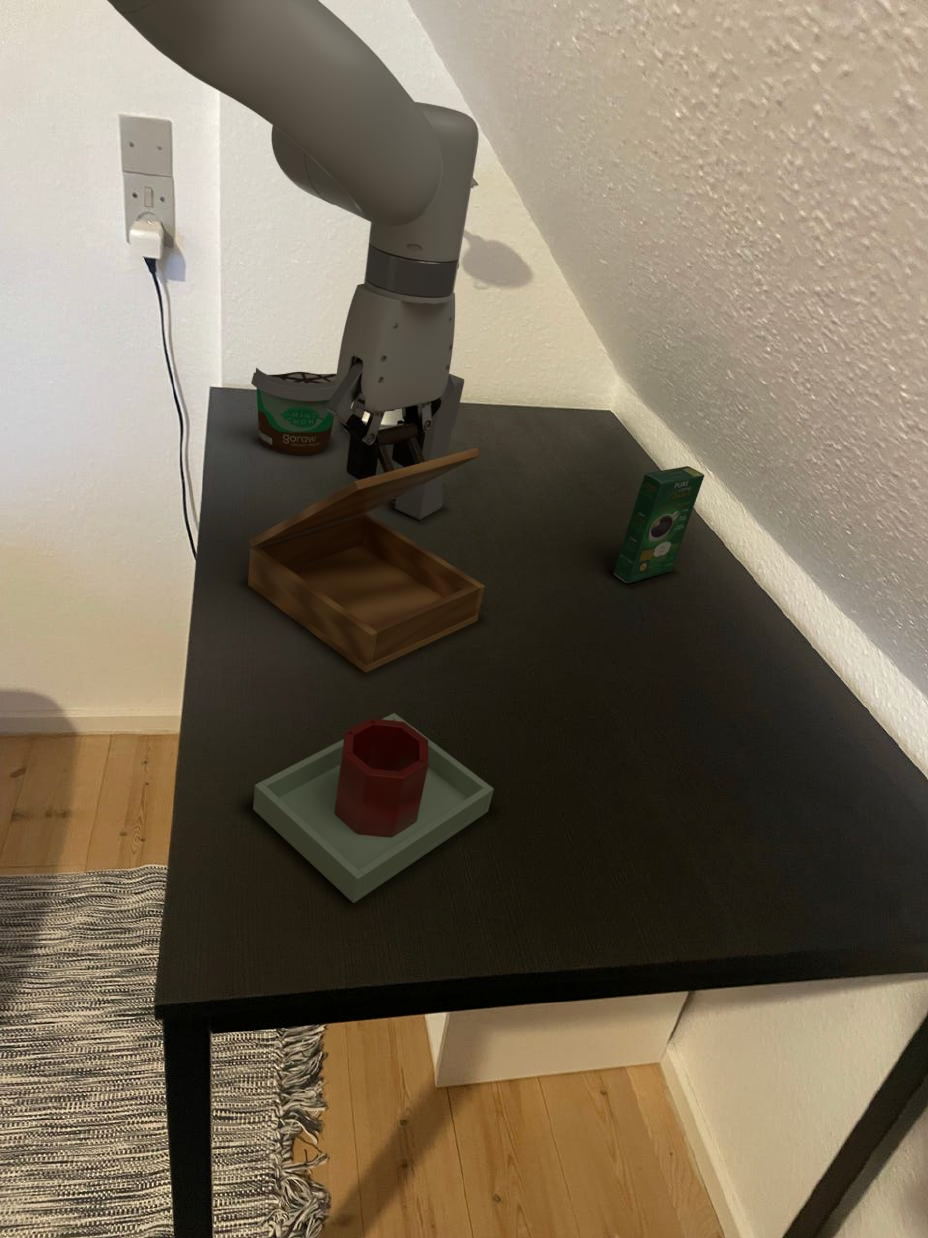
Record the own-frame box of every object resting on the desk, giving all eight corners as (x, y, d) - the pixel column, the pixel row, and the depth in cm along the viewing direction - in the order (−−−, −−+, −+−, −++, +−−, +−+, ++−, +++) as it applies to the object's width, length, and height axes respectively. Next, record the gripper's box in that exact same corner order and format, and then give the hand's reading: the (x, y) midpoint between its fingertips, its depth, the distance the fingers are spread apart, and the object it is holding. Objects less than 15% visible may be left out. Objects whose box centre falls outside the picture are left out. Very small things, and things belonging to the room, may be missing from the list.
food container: (263, 461, 119) (267, 385, 114) (248, 441, 123) (251, 367, 118) (353, 457, 125) (361, 384, 120) (335, 437, 129) (343, 366, 124)
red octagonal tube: (374, 849, 68) (384, 789, 65) (318, 800, 71) (325, 740, 68) (433, 811, 72) (445, 753, 69) (378, 767, 76) (387, 708, 72)
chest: (477, 621, 97) (485, 585, 95) (365, 673, 86) (371, 634, 84) (362, 546, 106) (366, 512, 103) (247, 585, 95) (249, 548, 93)
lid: (480, 455, 90) (461, 405, 89) (358, 489, 79) (336, 433, 79) (368, 511, 103) (351, 468, 103) (251, 547, 93) (232, 500, 92)
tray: (353, 904, 64) (357, 879, 63) (252, 809, 70) (254, 784, 69) (488, 811, 74) (494, 788, 73) (390, 735, 80) (394, 712, 78)
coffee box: (656, 560, 115) (688, 462, 108) (673, 572, 114) (707, 473, 107) (610, 573, 111) (641, 471, 104) (628, 585, 109) (660, 483, 102)
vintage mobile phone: (441, 509, 117) (478, 306, 103) (419, 521, 113) (454, 312, 100) (417, 498, 118) (450, 296, 105) (394, 510, 114) (425, 302, 101)
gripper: (447, 255, 86) (417, 440, 96) (301, 264, 74) (285, 474, 84) (509, 279, 82) (472, 469, 92) (366, 293, 71) (341, 509, 80)
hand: (383, 470), depth 88 cm, fingers closed on lid, 5 cm apart
